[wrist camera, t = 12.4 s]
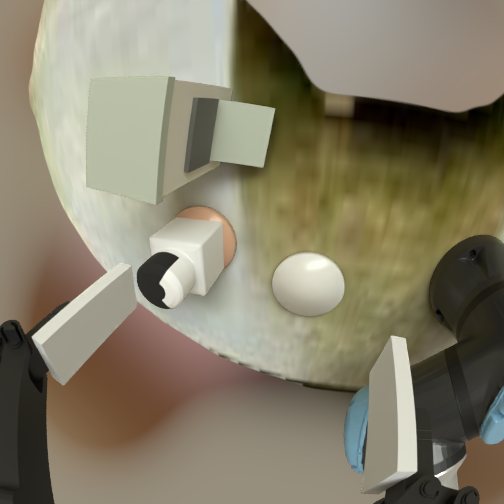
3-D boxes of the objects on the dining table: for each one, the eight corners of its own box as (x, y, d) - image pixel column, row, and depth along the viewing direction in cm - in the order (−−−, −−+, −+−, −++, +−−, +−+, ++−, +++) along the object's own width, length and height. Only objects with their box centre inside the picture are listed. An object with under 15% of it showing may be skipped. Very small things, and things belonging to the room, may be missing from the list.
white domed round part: (354, 263, 36) (355, 268, 35) (330, 318, 41) (330, 323, 40) (282, 242, 38) (281, 246, 37) (267, 299, 43) (265, 304, 42)
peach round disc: (241, 216, 38) (239, 219, 37) (231, 277, 43) (228, 281, 42) (174, 198, 39) (170, 201, 38) (171, 258, 44) (168, 261, 43)
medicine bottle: (180, 260, 42) (136, 308, 32) (175, 216, 39) (123, 256, 29) (224, 268, 41) (188, 322, 30) (223, 221, 37) (180, 267, 27)
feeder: (281, 95, 29) (242, 82, 16) (264, 177, 34) (219, 222, 22) (173, 82, 31) (90, 79, 18) (164, 156, 36) (86, 187, 24)
